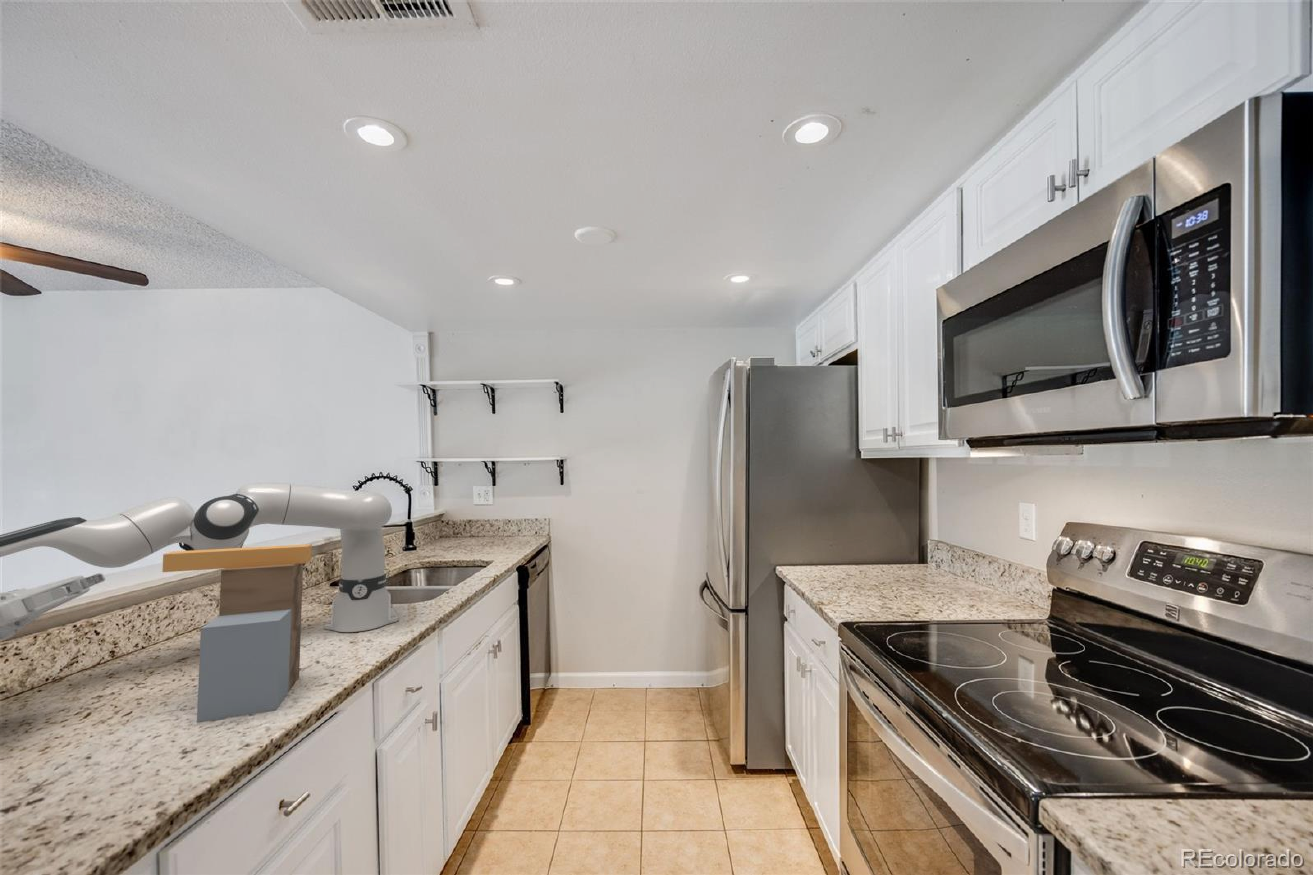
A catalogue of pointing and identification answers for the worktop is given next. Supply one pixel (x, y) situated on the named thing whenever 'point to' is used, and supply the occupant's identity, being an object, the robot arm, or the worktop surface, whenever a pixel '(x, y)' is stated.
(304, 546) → the orange block
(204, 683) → the slate block
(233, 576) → the walnut stand
